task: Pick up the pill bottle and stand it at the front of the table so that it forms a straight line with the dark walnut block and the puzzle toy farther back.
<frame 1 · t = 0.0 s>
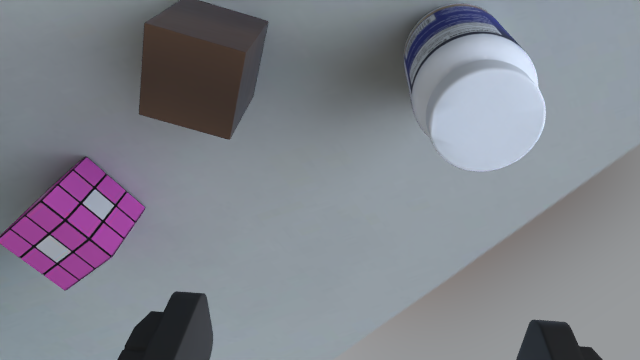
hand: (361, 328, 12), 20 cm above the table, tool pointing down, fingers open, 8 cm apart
pill bottle: (451, 50, 28), on the table
walnut block: (221, 49, 29), on the table
puzzle toy: (96, 198, 37), on the table
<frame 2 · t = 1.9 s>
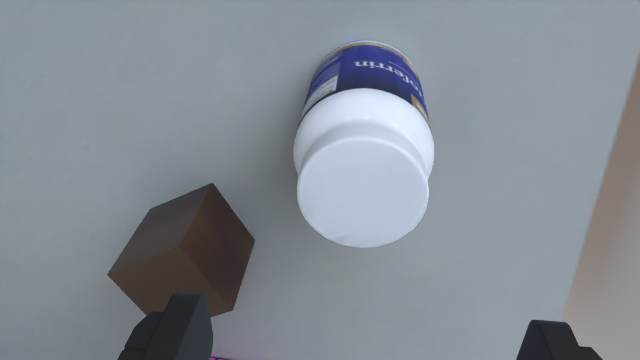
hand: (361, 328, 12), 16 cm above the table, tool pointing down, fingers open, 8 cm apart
pill bottle: (364, 89, 25), on the table
walnut block: (203, 225, 31), on the table
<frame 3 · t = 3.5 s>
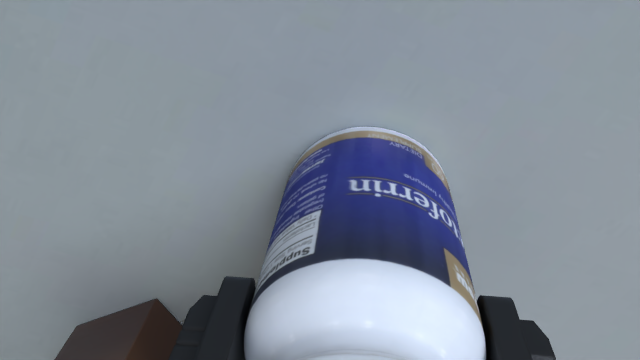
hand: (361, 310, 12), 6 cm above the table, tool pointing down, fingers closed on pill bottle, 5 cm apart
pill bottle: (366, 189, 17), on the table, touching gripper
walnut block: (148, 345, 23), on the table
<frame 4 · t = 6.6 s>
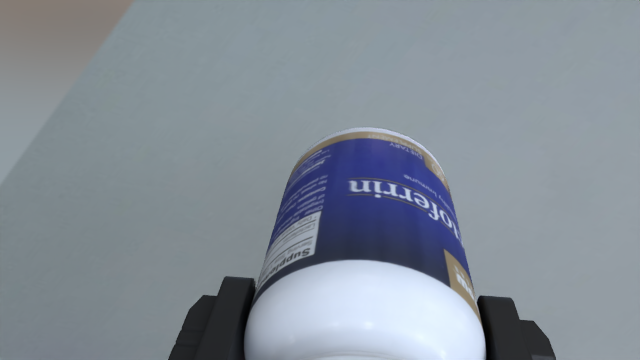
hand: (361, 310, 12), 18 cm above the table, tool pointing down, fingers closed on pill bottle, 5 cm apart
pill bottle: (366, 189, 17), point 13 cm above the table, touching gripper
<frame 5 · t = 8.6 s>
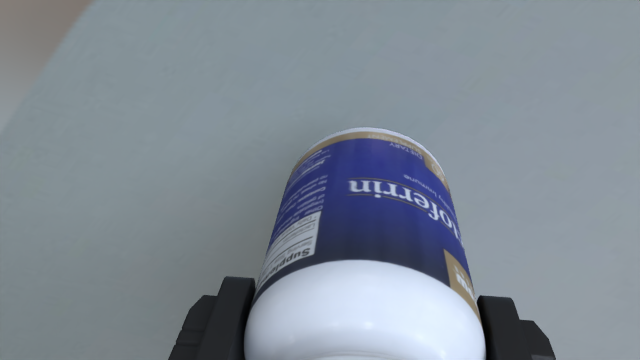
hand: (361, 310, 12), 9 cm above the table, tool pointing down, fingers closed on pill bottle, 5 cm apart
pill bottle: (365, 189, 17), point 3 cm above the table, touching gripper
when the fingers open (6 cm above the table, at t = 10.1 s): pill bottle stays where it is, on the table.
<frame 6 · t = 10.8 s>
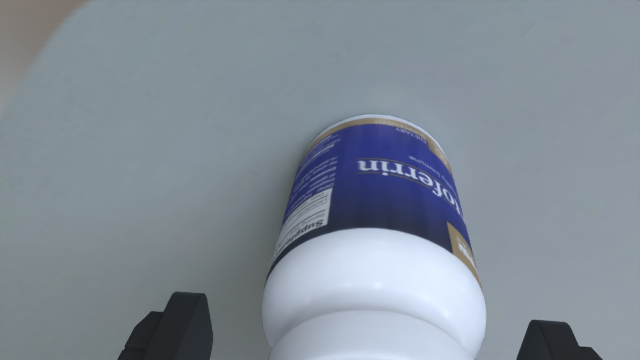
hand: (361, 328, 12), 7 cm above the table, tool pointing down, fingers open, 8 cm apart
pill bottle: (372, 175, 18), on the table
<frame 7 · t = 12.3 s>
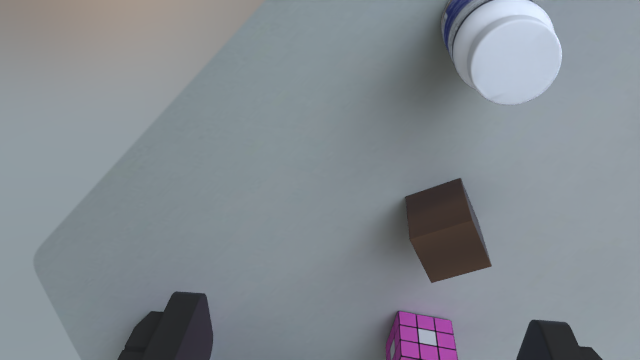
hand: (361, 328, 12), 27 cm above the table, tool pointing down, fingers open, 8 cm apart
pill bottle: (480, 19, 34), on the table
walnut block: (441, 208, 42), on the table
puzzle toy: (417, 331, 51), on the table
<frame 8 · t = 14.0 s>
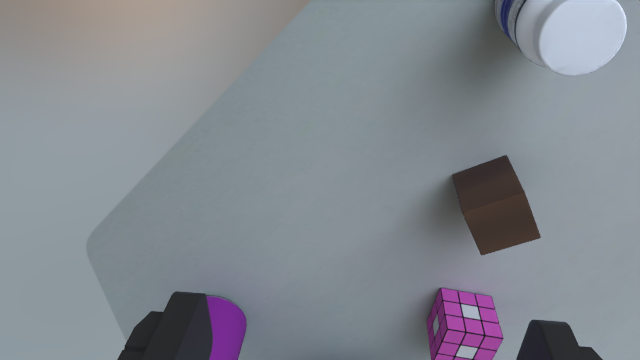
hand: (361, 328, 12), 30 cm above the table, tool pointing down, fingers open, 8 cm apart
walnut block: (487, 185, 44), on the table
puzzle toy: (457, 308, 53), on the table
beverage can: (217, 312, 57), on the table
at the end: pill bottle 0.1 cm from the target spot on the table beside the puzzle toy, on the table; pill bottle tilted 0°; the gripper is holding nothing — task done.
